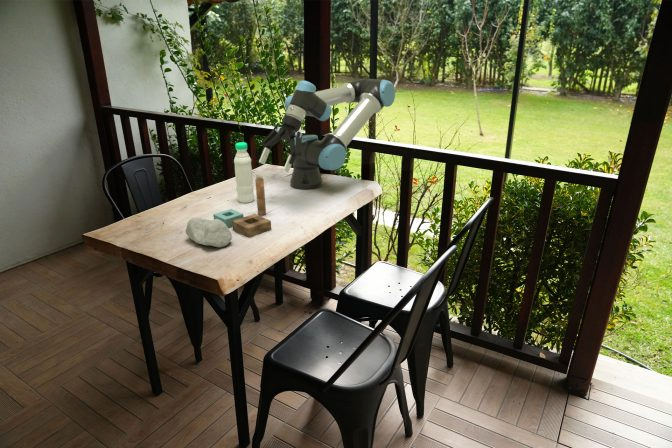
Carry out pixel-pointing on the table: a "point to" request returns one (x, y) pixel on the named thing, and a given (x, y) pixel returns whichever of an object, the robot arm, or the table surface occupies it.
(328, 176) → the table surface
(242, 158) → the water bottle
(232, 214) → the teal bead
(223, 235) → the decorative stone
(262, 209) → the brown wooden square peg
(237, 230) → the brown square socket block
